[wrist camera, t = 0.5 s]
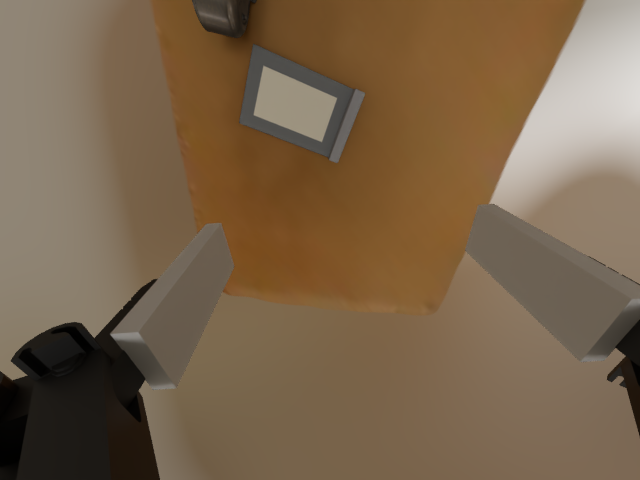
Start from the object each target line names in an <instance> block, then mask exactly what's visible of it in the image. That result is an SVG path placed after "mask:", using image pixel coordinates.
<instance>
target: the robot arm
mask: <svg viewBox="0 0 640 480" xmlns="http://www.w3.org/2000/svg"><path fill="white" fill-rule="evenodd" d="M465 251H466V252H467V253H468V254H469V255H470V256H471V257H472V258H473V259H474V260H475V261H476V262H477V263H478V264H480V266H482V267H483V268H484V269H485V270H486V271H487V272H488V273H489V274H490V275H491V276H492V277H493V278H494V279H495V280H496V281H497V282H498V283H499V284H500V285H501V286H502V287H503V288H504V289H505V290H506V291H508V292H509V294H511V295H512V296H513V297H514V298H515V299H516V300H517V301H518V302H519V303H520V304H521V305H522V306H523V307H524V308H525V309H526V310H527V311H528V312H529V313H530V314H531V315H532V316H533V317H534V318H535V319H536V320H538V322H540V323H541V324H542V325H543V326H544V327H545V328H546V329H547V330H548V331H549V332H550V333H551V334H552V335H553V336H554V337H555V338H556V339H557V340H558V341H559V342H560V343H561V344H562V345H563V346H564V347H565V348H566V349H567V350H569V351H570V352H571V353H572V354H573V355H574V356H575V357H576V358H577V359H578V360H579V361H580V362H587V361H603V360H605V359H606V358H607V357H608V356H609V355H610V353H611V352H612V351H613V350H614V349H615V348H617V349H618V350H619V351H620V352H622V353H623V354H624V355H626V357H625V358H624V359H623V360H622V361H621V362H620V363H619V364H618V365H617V366H616V367H615V368H614V369H613V370H612V371H611V372H610V373H609V374H608V376H607V380H608V381H611V382H612V381H614V380H615V379H616V377H617V376H623V377H624V380H623V381H622V382H621V383H620V386H623V387H625V388H627V391H628V395H629V399H630V403H631V406H632V410H633V413H634V417H635V421H636V424H637V428H638V432H639V435H640V284H638V283H636V282H635V281H633V280H631V279H629V278H627V277H626V276H624V275H620V274H619V273H618V272H616V271H615V270H613V269H611V268H609V267H606V266H605V265H604V264H602V263H600V262H598V261H597V260H595V259H593V258H591V257H589V256H586V255H585V254H583V253H581V252H579V251H577V250H575V249H574V248H572V247H570V246H568V245H567V244H565V243H563V242H561V241H559V240H558V239H556V238H554V237H552V236H550V235H548V234H547V233H545V232H543V231H541V230H540V229H538V228H536V227H534V226H532V225H531V224H529V223H527V222H525V221H523V220H522V219H520V218H518V217H516V216H514V215H513V214H511V213H509V212H507V211H505V210H503V209H502V208H500V207H498V206H496V205H495V204H485V205H478V208H477V212H476V215H475V219H474V222H473V225H472V229H471V232H470V236H469V239H468V242H467V246H466V249H465ZM233 268H234V264H233V260H232V257H231V254H230V251H229V247H228V244H227V241H226V237H225V234H224V231H223V228H222V224H221V223H214V224H206V225H205V226H204V227H203V228H202V229H201V231H200V232H199V233H198V234H197V235H196V237H194V239H193V240H192V241H191V242H190V243H189V245H187V247H186V248H185V249H184V250H183V251H182V252H181V254H180V255H179V256H178V257H177V258H176V259H175V260H174V261H173V263H172V264H171V265H170V266H169V267H168V268H167V269H166V271H165V272H164V273H163V274H162V275H161V276H160V277H159V279H154V280H152V281H151V282H149V283H148V284H146V285H145V286H143V287H142V288H141V289H140V290H139V291H138V292H137V293H136V294H135V295H134V296H133V297H132V298H131V301H128V303H127V304H126V305H125V306H124V307H123V309H121V310H120V311H119V312H118V313H117V314H116V315H115V317H114V318H113V319H112V320H111V321H110V322H109V323H108V324H107V325H106V326H105V327H104V329H102V331H101V332H100V333H99V334H98V335H97V336H96V337H95V338H93V336H92V335H91V334H90V333H89V332H88V330H87V329H86V328H85V327H84V326H83V325H82V323H77V322H72V323H65V324H62V325H59V326H56V327H53V328H51V329H49V330H47V331H45V332H43V333H41V334H39V335H37V336H36V337H34V338H33V339H32V340H30V341H29V342H27V343H26V344H25V345H23V346H22V347H21V348H20V349H19V350H18V351H17V352H16V353H15V355H14V356H13V358H12V360H11V362H13V364H15V365H16V366H17V367H18V368H19V369H21V370H22V371H23V372H24V373H25V374H27V375H28V376H25V377H22V378H19V379H15V380H11V379H10V378H8V377H7V376H6V375H5V374H3V373H2V372H1V371H0V480H160V478H159V473H158V468H157V463H156V459H155V454H154V449H153V444H152V440H151V435H150V431H149V426H148V421H147V416H146V412H145V407H144V403H143V397H142V396H141V394H140V393H139V389H140V387H141V386H142V384H143V382H144V381H145V380H146V381H147V383H148V384H149V385H150V386H151V388H152V389H153V390H157V389H172V388H177V386H178V384H179V382H180V379H181V377H182V375H183V373H184V371H185V369H186V367H187V365H188V363H189V361H190V358H191V356H192V354H193V352H194V350H195V348H196V346H197V344H198V342H199V340H200V338H201V335H202V333H203V331H204V329H205V327H206V325H207V323H208V321H209V319H210V317H211V314H212V312H213V310H214V308H215V306H216V304H217V302H218V300H219V297H220V296H221V293H222V291H223V289H224V287H225V285H226V283H227V281H228V279H229V277H230V275H231V272H232V270H233Z"/></svg>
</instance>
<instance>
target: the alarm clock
mask: <svg viewBox="0 0 640 480" xmlns="http://www.w3.org/2000/svg"><path fill="white" fill-rule="evenodd" d="M250 1H252V2H253V3H256V0H192V2H193V5H194V8H195V11H196V14H197V16H198V19H199V21H200V23H201V24H202V26H203V27H204V28H205V30H207V31H208V32H214V33H218V34H222V35H226V36H230V37H234V38H239V37H241V36H242V35H243V34H244V32H245V30H246V27H247V23H248V18H249V9H250Z"/></svg>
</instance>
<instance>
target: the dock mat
mask: <svg viewBox="0 0 640 480" xmlns="http://www.w3.org/2000/svg"><path fill="white" fill-rule="evenodd" d="M364 95H365V93H364V92H362V91H359V90H357V89H352V88H349V87H347V86H345V85H343V84H341V83H338V82H336V81H334V80H332V79H330V78H327V77H325V76H323V75H321V74H319V73H316V72H314V71H312V70H310V69H308V68H305V67H303V66H301V65H299V64H297V63H294V62H292V61H290V60H288V59H286V58H283V57H281V56H279V55H277V54H275V53H272V52H270V51H268V50H266V49H264V48H261V47H259V46H257V45H255V44H253V48H252V54H251V60H250V65H249V71H248V76H247V82H246V87H245V93H244V99H243V104H242V110H241V115H240V121H239V123H240V124H243V125H246V126H248V127H251V128H253V129H256V130H259V131H261V132H264V133H266V134H269V135H272V136H274V137H277V138H279V139H282V140H285V141H287V142H290V143H292V144H295V145H298V146H300V147H303V148H306V149H308V150H311V151H313V152H316V153H319V154H321V155H324V156H326V157H328V158H329V160H331V161H333V162H336V163H338V161H339V158H340V156H341V153H342V151H343V148H344V146H345V143H346V141H347V138H348V136H349V133H350V131H351V128H352V126H353V123H354V121H355V118H356V116H357V113H358V111H359V108H360V106H361V103H362V100H363V98H364Z"/></svg>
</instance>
